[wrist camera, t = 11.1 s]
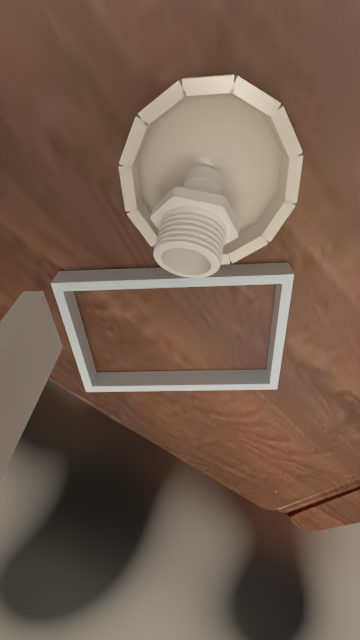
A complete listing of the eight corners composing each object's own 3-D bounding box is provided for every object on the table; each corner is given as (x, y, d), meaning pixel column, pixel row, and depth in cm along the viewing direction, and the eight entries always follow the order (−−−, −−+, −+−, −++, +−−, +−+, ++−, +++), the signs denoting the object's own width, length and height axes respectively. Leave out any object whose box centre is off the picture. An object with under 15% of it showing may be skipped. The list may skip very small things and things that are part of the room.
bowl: (115, 82, 27) (105, 84, 24) (301, 68, 26) (315, 68, 23) (139, 250, 35) (134, 267, 32) (280, 244, 34) (289, 261, 31)
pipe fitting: (152, 181, 31) (129, 259, 28) (199, 130, 25) (176, 223, 22) (208, 216, 33) (192, 290, 31) (262, 178, 28) (249, 265, 25)
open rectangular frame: (58, 271, 37) (50, 283, 35) (288, 262, 35) (294, 274, 33) (91, 377, 46) (86, 391, 44) (273, 374, 44) (277, 389, 42)
